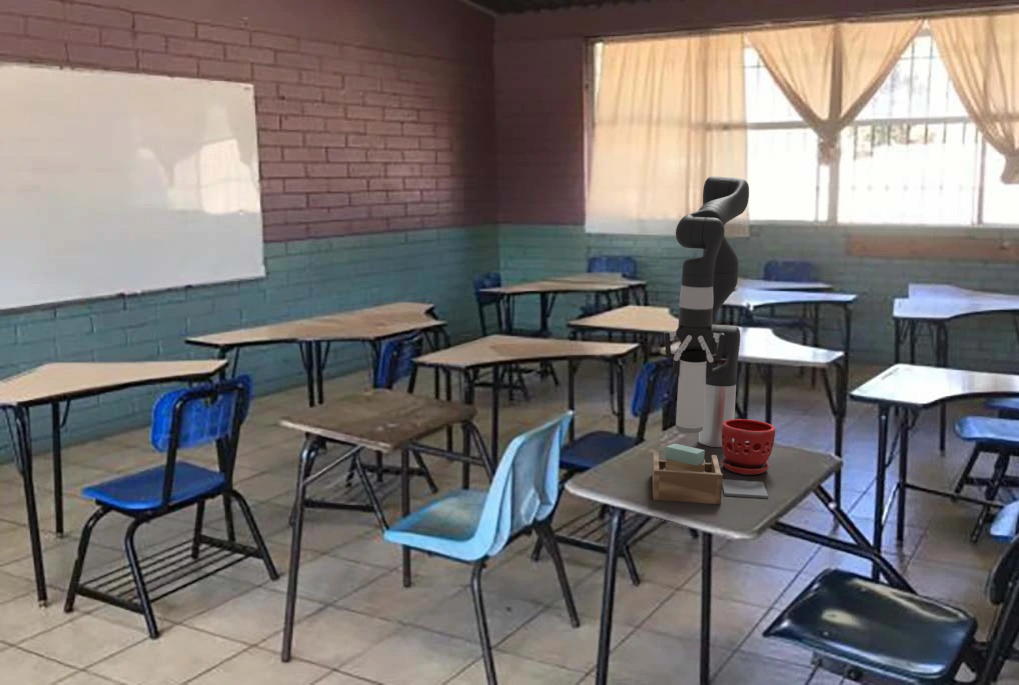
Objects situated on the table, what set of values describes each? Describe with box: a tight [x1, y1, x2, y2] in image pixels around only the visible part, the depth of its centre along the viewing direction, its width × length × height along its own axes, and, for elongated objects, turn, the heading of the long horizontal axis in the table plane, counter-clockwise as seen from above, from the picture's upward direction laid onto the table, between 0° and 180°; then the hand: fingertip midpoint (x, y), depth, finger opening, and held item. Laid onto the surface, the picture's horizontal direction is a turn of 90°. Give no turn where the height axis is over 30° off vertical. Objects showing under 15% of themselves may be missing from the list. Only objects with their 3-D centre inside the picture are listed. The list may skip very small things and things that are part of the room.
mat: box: [722, 478, 769, 499], centre depth 231 cm, size 10×10×1 cm
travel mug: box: [675, 348, 707, 434], centre depth 223 cm, size 6×7×20 cm
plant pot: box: [721, 418, 776, 476], centre depth 245 cm, size 13×13×12 cm
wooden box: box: [651, 451, 724, 505], centre depth 230 cm, size 18×15×7 cm
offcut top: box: [665, 442, 706, 466], centre depth 234 cm, size 4×8×3 cm, turn 51°
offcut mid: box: [665, 458, 706, 472], centre depth 234 cm, size 4×9×3 cm, turn 76°
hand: (692, 376), depth 223 cm, fingers closed on travel mug, 6 cm apart
